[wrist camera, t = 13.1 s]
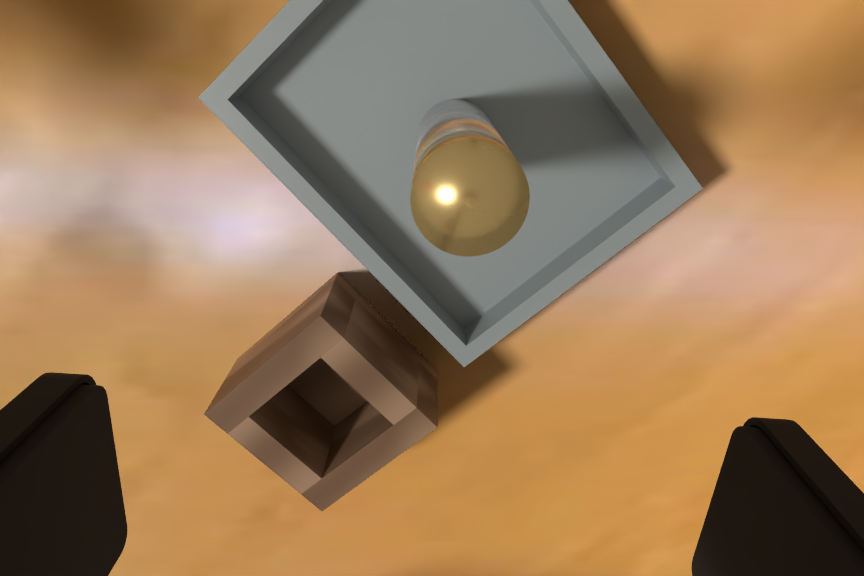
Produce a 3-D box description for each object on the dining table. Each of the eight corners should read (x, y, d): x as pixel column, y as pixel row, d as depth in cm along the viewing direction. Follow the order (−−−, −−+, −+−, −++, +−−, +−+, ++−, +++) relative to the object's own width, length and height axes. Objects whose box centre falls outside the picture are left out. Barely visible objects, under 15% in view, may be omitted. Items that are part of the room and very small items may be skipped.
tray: (681, 175, 34) (703, 188, 31) (461, 343, 38) (464, 367, 35) (446, -148, 28) (447, -167, 25) (218, 91, 32) (198, 97, 29)
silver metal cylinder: (508, 141, 32) (553, 205, 20) (451, 190, 33) (463, 278, 21) (459, 82, 31) (477, 113, 19) (402, 134, 32) (385, 195, 20)
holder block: (437, 371, 39) (437, 427, 33) (337, 446, 41) (321, 511, 36) (337, 272, 36) (320, 315, 31) (237, 359, 39) (204, 414, 33)
